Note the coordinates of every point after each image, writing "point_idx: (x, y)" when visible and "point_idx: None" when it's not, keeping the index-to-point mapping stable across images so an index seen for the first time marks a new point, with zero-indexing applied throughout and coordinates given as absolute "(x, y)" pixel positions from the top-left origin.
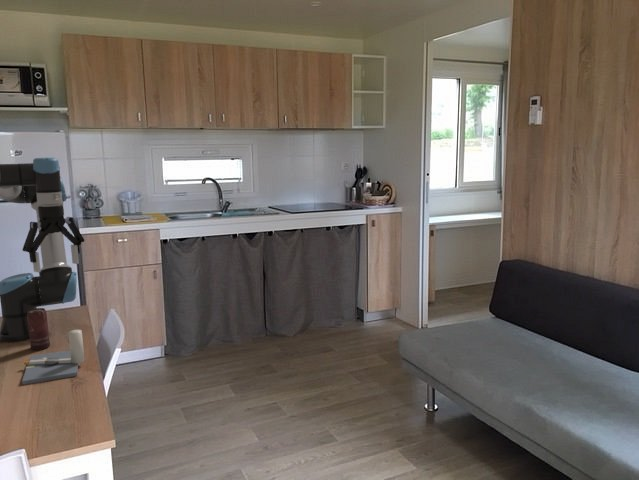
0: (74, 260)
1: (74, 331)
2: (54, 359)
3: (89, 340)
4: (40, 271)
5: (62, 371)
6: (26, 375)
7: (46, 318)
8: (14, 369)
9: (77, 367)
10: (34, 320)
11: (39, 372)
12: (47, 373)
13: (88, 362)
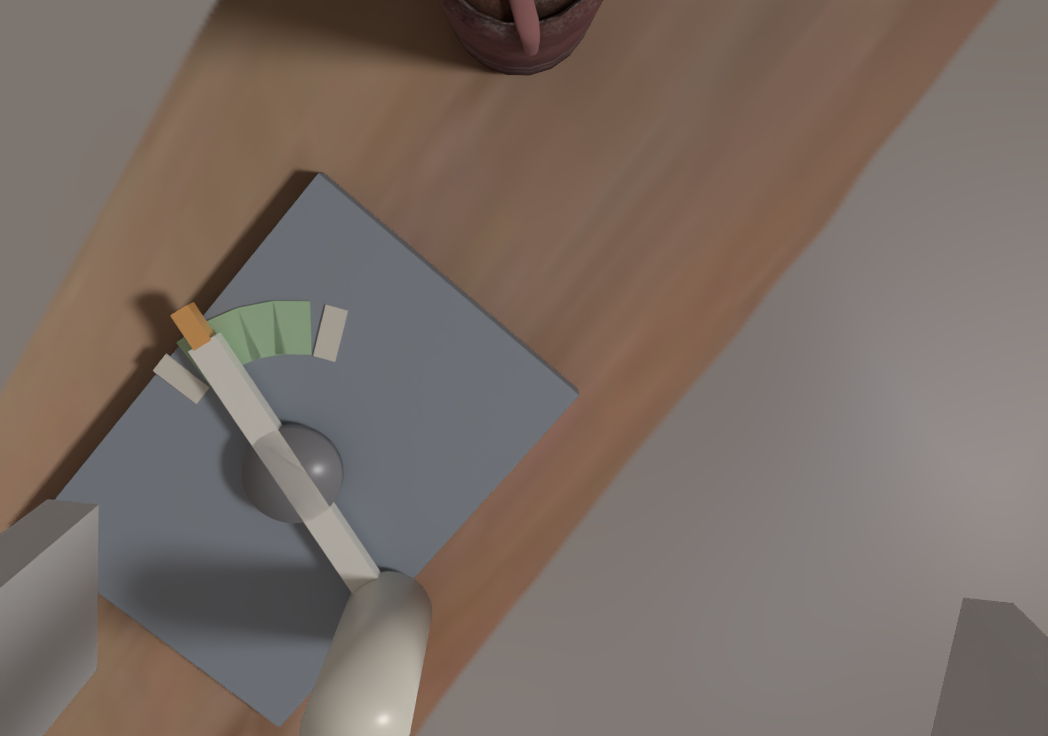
0: (978, 722)
1: (355, 728)
2: (303, 482)
3: (796, 242)
4: (86, 677)
5: (244, 637)
6: (89, 483)
7: (573, 32)
8: (151, 239)
9: None
10: (445, 9)
11: (160, 518)
12: (176, 579)
13: (467, 602)
